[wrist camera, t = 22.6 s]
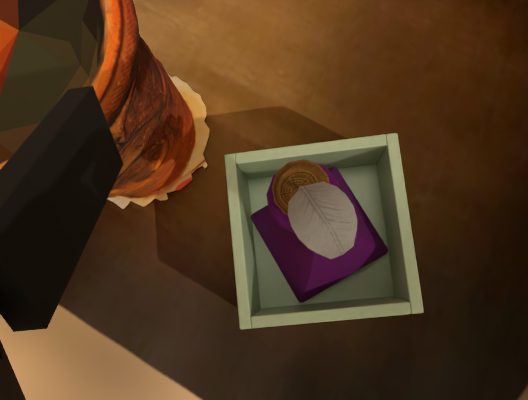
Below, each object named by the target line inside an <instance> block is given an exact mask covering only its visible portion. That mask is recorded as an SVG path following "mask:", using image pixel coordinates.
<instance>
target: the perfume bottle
mask: <svg viewBox="0 0 528 400" xmlns="http://www.w3.org/2000/svg"><path fill="white" fill-rule="evenodd" d="M266 196H267V202H268V205H267V206H265V207H263V208H261V209H260V210H258V211H256V212H255V213H253V214H252V215H251V220H252V222H253V224H254V225H255V227H256V229H257V230H258V232H259V234H260V236H261V237H262V239H263V241H264V243H265V244H266V246H267V248H268V249H269V251H270V253H271V255H272V256H273V258H274V260H275V262H276V263H277V265H278V267H279V269H280V270H281V272H282V274H283V275H284V277H285V279H286V281H287V282H288V284H289V286H290V288H291V289H292V291H293V293H294V295H295V296H296V298H297V300H298V301H299V302H300V303H303V302H305V301H307V300H308V299H310V298H312V297H313V296H315V295H317V294H319V293H320V292H322V291H324V290H325V289H327V288H329V287H331V286H332V285H334V284H336V283H337V282H339V281H341V280H342V279H344V278H346V277H348V276H349V275H351V274H353V273H354V272H356V271H358V270H360V269H361V268H363V267H365V266H366V265H368V264H370V263H371V262H373V261H375V260H377V259H378V258H380V257H382V256H383V255H385V254H387V252H388V248H387V246H386V245H385V243H384V242H383V240H382V239H381V237H380V235H379V234H378V232H377V231H376V229H375V227H374V226H373V224H372V223H371V221H370V219H369V218H368V216H367V215H366V213H365V212H364V210H363V208H362V207H361V205H360V204H359V202H358V200H357V199H356V197H355V196H354V194H353V192H352V191H351V189H350V188H349V186H348V185H347V183H346V181H345V180H344V178H343V177H342V175H341V173H340V172H339V170H338V169H337V167H335V166H333V167H331V168H329V169H328V168H327V167H326V166H323V165H320V164H317V163H314V162H311V161H308V160H305V159H302V160H296V161H291V162H288V163H287V164H286V165H284V166H283V167H282V168H281V169H280V170H279V171H278V172H277V173H276V174H275V175H273V178H272V180H271V183H270V186H269V188H268V191H267V194H266Z"/></svg>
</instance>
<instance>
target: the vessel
mask: <svg viewBox="0 0 528 400" xmlns="http://www.w3.org/2000/svg"><path fill="white" fill-rule="evenodd" d="M87 86H93V87H94V90H95V92H96V95H97V97H98V100H99V102H100V105H101V108H102V110H103V113H104V115H105V118H106V120H107V123H108V125H109V128H110V130H111V133H112V136H113V138H114V141H115V143H116V146H117V148H118V151H119V153H120V156H121V159H122V161H123V166H122V168H121V171H120V173H119V175H118V177H117V179H116V181H115V183H114V186H113V188H112V190H111V192H110V194H109V196H108V198H107V200H110V201H112V202H114V203H115V204H117V205H118V206H119V207H121V208H122V209H124V208H125V207H126V206H127V205H128V204H129V203H130V201H132V202H134V203H136V204H138V205H140V206H143V207H144V206H146V205H147V204H149V203H150V202H151V201H153V200H154V199H155V198H156V199H158V200H160V201H162V200H167V199H168V197H167V193H168V192H172V191H176V190H181V189H182V188H183V187H184V186H186V185H187V184H188V183H189V182H190V181H191V180H193V178H192V175H191V174H192V173H193V172H194V171H195V170H196V169H197V168H199V167H201V166H203V167H204V168H206V167H207V163H206V161H205V158H204V156H203V152H204V149H205V147H206V144H207V140H208V137H209V132H210V129H209V128H208V126H207V125H206V123H205V122H204V121H205V118H206V106H205V104H204V103H203V102H202V99H201V96H200V95H199V94H197V93H195V92H193V91H192V89H191V88H190V86H189V85H188V84H187V83H185V82H183V81H181V80H180V79H179V78H178V77H176V76H173V77H171V76H169V75H168V74H167V72H166V71H165V69H164V67H163V65H162V63H161V62H160V61H159V60H158V59H156V58H155V57H154V55H153V54H152V52H151V50H150V49H149V47H148V45H147V44H146V43H145V42H144V40H143V39H142V38H141V37H140V35H139V28H138V21H137V16H136V11H135V7H134V4H133V1H132V0H0V169H1V168H2V167H3V166H4V165H5V164H6V162H7V161H8V160H9V159H10V158H11V156H12V155H13V154H14V153H15V152H16V151H17V149H18V148H19V147H20V146H21V145H22V143H23V142H24V141H25V140H26V139H27V138H28V136H29V135H30V134H31V133H32V132H33V130H34V129H35V128H36V127H37V126H38V125H39V123H40V122H41V121H42V120H43V119H44V117H45V116H46V115H47V114H48V113H49V112H50V110H51V109H52V108H53V107H54V106H55V104H56V103H57V102H58V101H59V100H60V99H61V97H62V96H63V95H64V94H65V93H66V91H67V90H68V89H73V88H80V87H87Z"/></svg>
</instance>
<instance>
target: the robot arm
mask: <svg viewBox="0 0 528 400" xmlns="http://www.w3.org/2000/svg"><path fill="white" fill-rule="evenodd" d="M122 166H123V161H122V159H121V156H120V153H119V151H118V148H117V146H116V143H115V141H114V138H113V136H112V133H111V130H110V128H109V125H108V123H107V120H106V118H105V115H104V113H103V110H102V108H101V105H100V102H99V100H98V97H97V95H96V92H95V90H94V87H93V86H87V87H80V88H73V89H68V90H67V91H66V93H65V94H64V95H63V96H62V97H61V99H60V100H59V101H58V102H57V103H56V104H55V106H54V107H53V108H52V109H51V110H50V112H49V113H48V114H47V115H46V116H45V117H44V119H43V120H42V121H41V122H40V123H39V125H38V126H37V127H36V128H35V129H34V130H33V132H32V133H31V134H30V135H29V136H28V138H27V139H26V140H25V141H24V142H23V143H22V145H21V146H20V147H19V148H18V149H17V151H16V152H15V153H14V154H13V155H12V156H11V158H10V159H9V160H8V161H7V162H6V164H5V165H4V166H3V167H2V168H1V169H0V314H1V315H2V317H3V318H4V319H5V320H6V322H7V323H8V325H9V326H10V327H11V329H12V330H13V331H14V332H15V331H25V330H36V329H46V328H47V327H48V324H49V323H50V320H51V318H52V316H53V314H54V312H55V310H56V308H57V305H58V303H59V301H60V299H61V297H62V295H63V293H64V290H65V288H66V286H67V284H68V282H69V280H70V278H71V275H72V273H73V271H74V269H75V267H76V265H77V263H78V260H79V258H80V256H81V254H82V252H83V250H84V248H85V245H86V243H87V241H88V239H89V237H90V235H91V233H92V231H93V228H94V226H95V224H96V222H97V220H98V218H99V216H100V213H101V211H102V209H103V207H104V205H105V203H106V201H107V198H108V196H109V194H110V192H111V190H112V188H113V186H114V183H115V181H116V179H117V177H118V175H119V173H120V171H121V168H122ZM0 400H26V399H25V397H24V394H23V392H22V390H21V387H20V385H19V383H18V380H17V378H16V376H15V373H14V371H13V369H12V366H11V364H10V362H9V360H8V357H7V355H6V353H5V350H4V348H3V345H2V343H1V341H0Z"/></svg>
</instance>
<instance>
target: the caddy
mask: <svg viewBox="0 0 528 400" xmlns="http://www.w3.org/2000/svg"><path fill="white" fill-rule="evenodd" d="M224 158H225V170H226V181H227V192H228V203H229V214H230V225H231V236H232V248H233V259H234V270H235V281H236V292H237V303H238V314H239V326H240V329H250V328H261V327H273V326H284V325H295V324H306V323H317V322H328V321H339V320H350V319H361V318H373V317H384V316H395V315H406V314H411V313H412V314H417V313H423V312H424V310H423V303H422V296H421V290H420V283H419V276H418V269H417V263H416V256H415V249H414V242H413V236H412V229H411V222H410V215H409V209H408V202H407V195H406V189H405V182H404V175H403V168H402V162H401V155H400V148H399V141H398V135H397V133H392V134H386V135H385V134H383V135H375V136H368V137H360V138H352V139H344V140H336V141H328V142H320V143H312V144H304V145H296V146H289V147H281V148H273V149H265V150H257V151H249V152H241V153H235V154H226V155H224ZM302 159H305V160H308V161H311V162H314V163H317V164H320V165H323V166H326V167H327V168H328V169H329V168H331V167H333V166H335V167H337V169H338V170H339V172H340V173H341V175H342V177H343V178H344V180H345V181H346V183H347V185H348V186H349V188H350V189H351V191H352V192H353V194H354V196H355V197H356V199H357V200H358V202H359V204H360V205H361V207H362V208H363V210H364V212H365V213H366V215H367V216H368V218H369V219H370V221H371V223H372V224H373V226H374V227H375V229H376V231H377V232H378V234H379V235H380V237H381V239H382V240H383V242H384V243H385V245H386V246H387V248H388V252H387V254H385V255H383V256H382V257H380V258H378V259H377V260H375V261H373V262H371V263H370V264H368V265H366V266H365V267H363V268H361V269H360V270H358V271H356V272H354V273H353V274H351V275H349V276H348V277H346V278H344V279H342V280H341V281H339V282H337V283H336V284H334V285H332V286H331V287H329V288H327V289H325V290H324V291H322V292H320V293H319V294H317V295H315V296H313V297H312V298H310V299H308V300H307V301H305V302H303V303H300V302H299V301H298V300H297V298H296V296H295V295H294V293H293V291H292V289H291V288H290V286H289V284H288V282H287V281H286V279H285V277H284V275H283V274H282V272H281V270H280V269H279V267H278V265H277V263H276V262H275V260H274V258H273V256H272V255H271V253H270V251H269V249H268V248H267V246H266V244H265V243H264V241H263V239H262V237H261V236H260V234H259V232H258V230H257V229H256V227H255V225H254V224H253V222H252V220H251V215H252V214H253V213H255V212H256V211H258V210H260V209H261V208H263V207H265V206H267V205H268V202H267V196H266V194H267V191H268V188H269V186H270V183H271V180H272V178H273V175H275V174H276V173H277V172H278V171H279V170H280V169H281V168H282V167H283V166H284V165H286V164H287V163H288V162H291V161H296V160H302Z"/></svg>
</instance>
